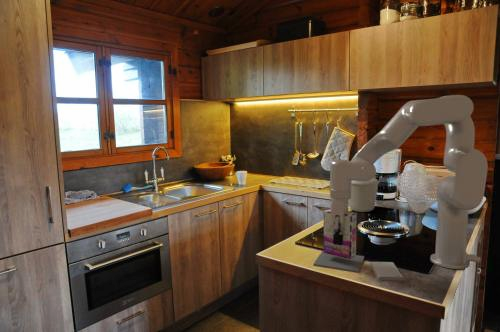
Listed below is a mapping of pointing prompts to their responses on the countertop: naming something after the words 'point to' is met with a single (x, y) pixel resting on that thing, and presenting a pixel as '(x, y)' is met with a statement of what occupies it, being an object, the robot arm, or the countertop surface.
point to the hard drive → (386, 271)
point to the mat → (339, 262)
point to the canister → (363, 195)
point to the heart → (425, 179)
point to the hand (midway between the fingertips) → (339, 241)
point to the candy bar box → (348, 233)
